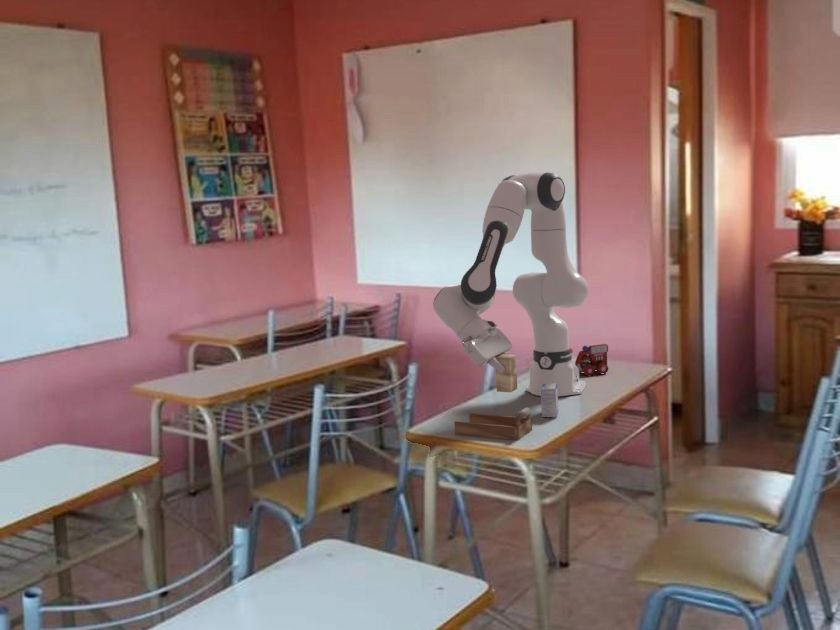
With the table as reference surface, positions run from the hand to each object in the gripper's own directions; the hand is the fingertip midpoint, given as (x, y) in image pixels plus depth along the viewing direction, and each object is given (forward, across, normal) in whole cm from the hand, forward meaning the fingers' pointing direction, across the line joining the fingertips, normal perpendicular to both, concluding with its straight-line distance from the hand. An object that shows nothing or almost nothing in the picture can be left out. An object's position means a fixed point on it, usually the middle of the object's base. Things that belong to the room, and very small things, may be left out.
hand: (508, 368), depth 263 cm
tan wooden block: (+4, 0, +5) cm, 6 cm away
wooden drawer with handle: (+11, -13, +11) cm, 20 cm away
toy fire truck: (+14, +68, +11) cm, 70 cm away
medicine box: (+17, +10, +6) cm, 21 cm away
